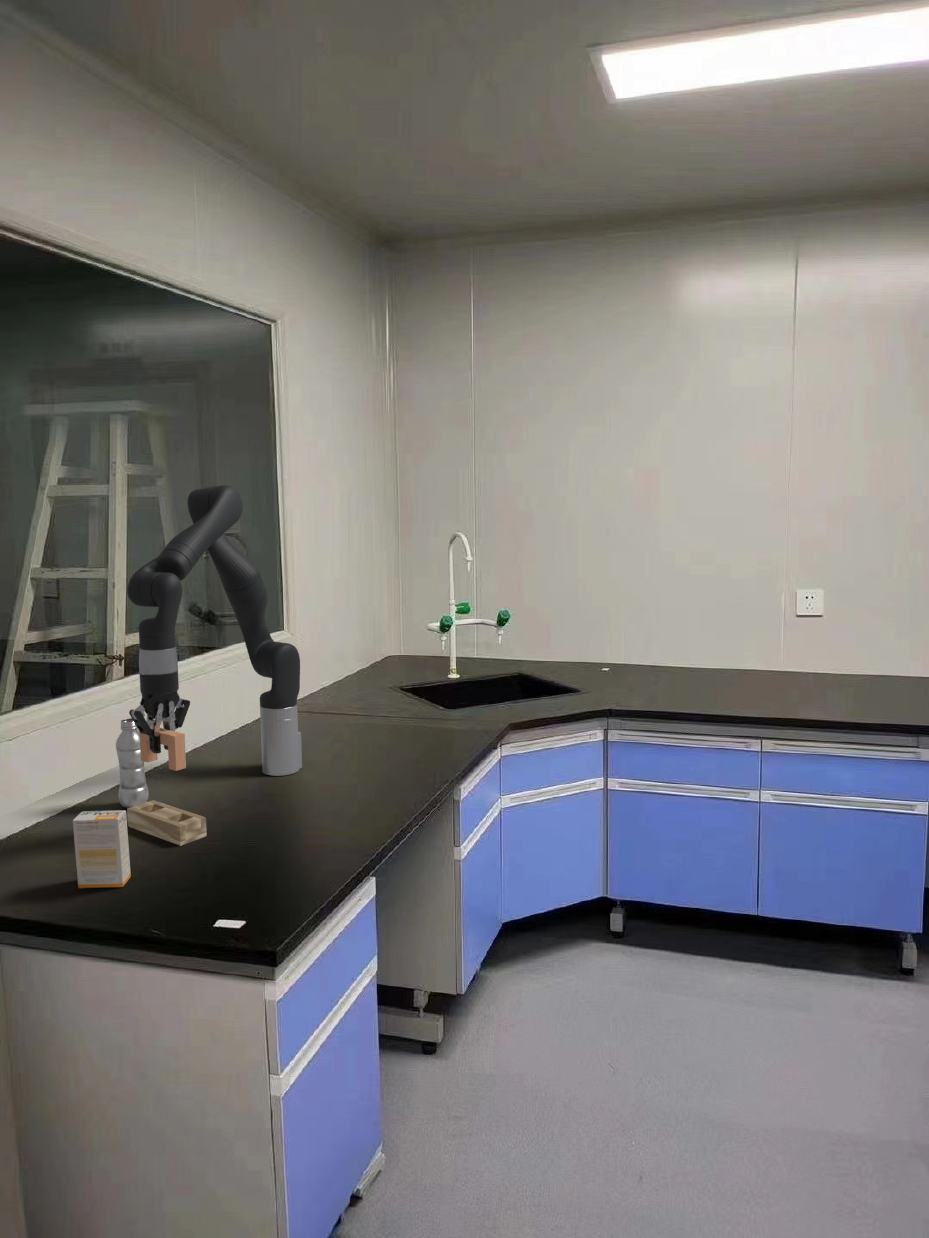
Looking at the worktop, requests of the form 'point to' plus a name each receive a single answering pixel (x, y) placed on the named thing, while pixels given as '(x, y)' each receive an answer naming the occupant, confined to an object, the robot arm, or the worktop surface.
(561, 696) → the worktop surface
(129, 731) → the metal bottle
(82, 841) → the supplement box
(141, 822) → the rail
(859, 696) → the worktop surface
